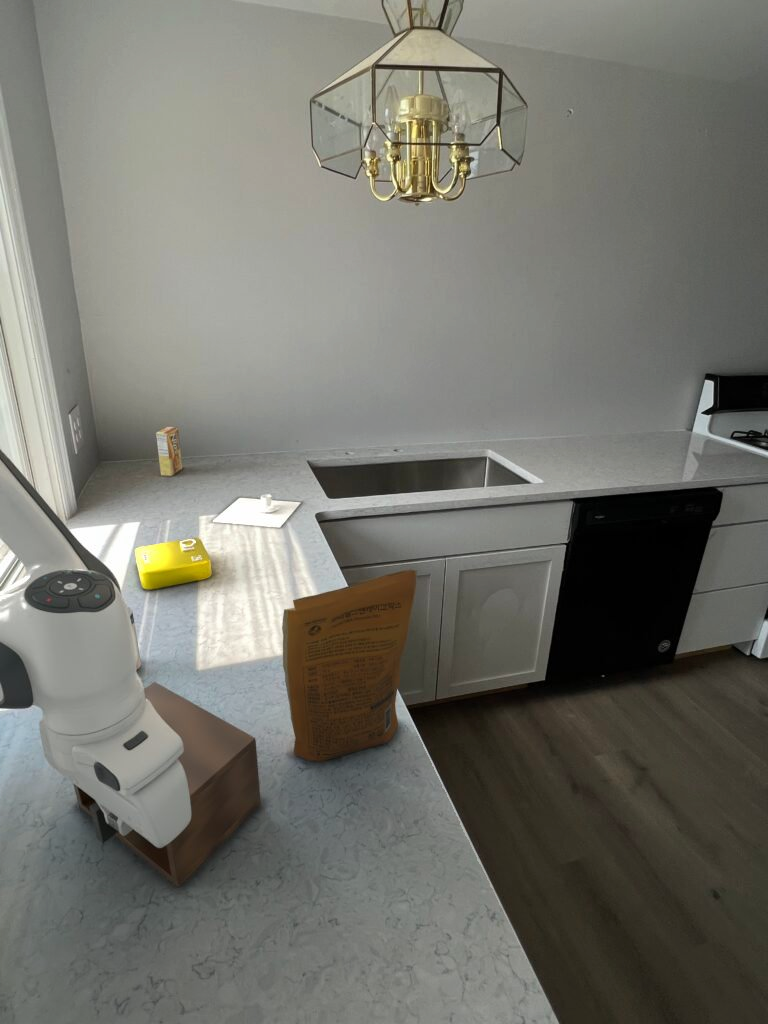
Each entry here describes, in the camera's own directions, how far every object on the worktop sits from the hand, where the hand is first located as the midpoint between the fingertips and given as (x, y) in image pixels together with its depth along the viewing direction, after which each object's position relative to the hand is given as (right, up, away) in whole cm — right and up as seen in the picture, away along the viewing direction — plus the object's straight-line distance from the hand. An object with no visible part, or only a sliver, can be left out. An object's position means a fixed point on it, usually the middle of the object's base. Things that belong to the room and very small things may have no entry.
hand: (122, 825), depth 60 cm
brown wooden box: (+1, -3, +11) cm, 12 cm away
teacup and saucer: (-9, +34, +104) cm, 110 cm away
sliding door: (-5, -4, +6) cm, 9 cm away
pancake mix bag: (+24, 0, +21) cm, 32 cm away
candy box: (-47, +48, +137) cm, 152 cm away
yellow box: (-20, +20, +69) cm, 75 cm away
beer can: (-16, +7, +36) cm, 40 cm away
